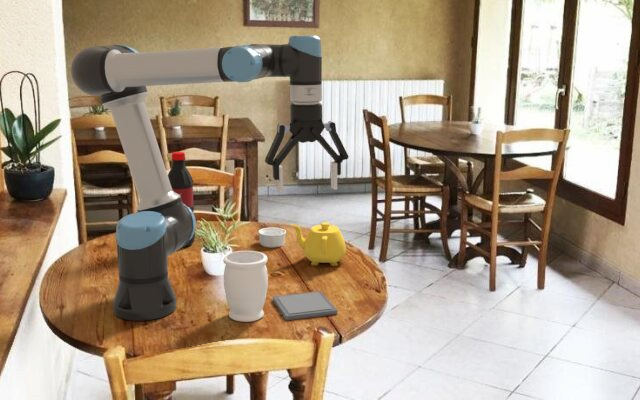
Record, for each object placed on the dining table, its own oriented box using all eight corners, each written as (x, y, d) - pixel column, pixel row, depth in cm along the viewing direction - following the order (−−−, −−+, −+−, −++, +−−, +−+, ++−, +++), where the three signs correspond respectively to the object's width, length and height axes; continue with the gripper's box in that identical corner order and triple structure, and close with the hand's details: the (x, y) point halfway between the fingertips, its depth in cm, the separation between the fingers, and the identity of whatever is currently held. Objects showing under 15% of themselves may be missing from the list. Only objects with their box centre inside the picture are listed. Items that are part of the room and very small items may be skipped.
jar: (215, 318, 165) (214, 259, 161) (240, 303, 173) (239, 247, 170) (253, 328, 160) (252, 267, 156) (276, 312, 169) (275, 254, 165)
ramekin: (289, 241, 225) (289, 228, 224) (281, 249, 216) (281, 236, 215) (263, 238, 227) (263, 226, 226) (254, 247, 218) (254, 234, 217)
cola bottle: (173, 239, 224) (169, 149, 217) (198, 241, 223) (195, 150, 215) (164, 247, 216) (160, 153, 208) (190, 249, 215) (187, 154, 207)
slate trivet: (286, 320, 164) (286, 315, 164) (272, 300, 176) (272, 295, 176) (337, 314, 168) (337, 309, 168) (320, 294, 180) (320, 290, 180)
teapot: (322, 250, 216) (323, 214, 213) (356, 261, 206) (357, 223, 203) (289, 260, 206) (290, 222, 203) (323, 272, 196) (324, 232, 193)
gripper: (257, 106, 154) (260, 198, 159) (361, 102, 161) (361, 189, 167) (250, 103, 161) (253, 191, 166) (350, 99, 168) (350, 183, 174)
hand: (307, 190), depth 167 cm, fingers open, 13 cm apart
